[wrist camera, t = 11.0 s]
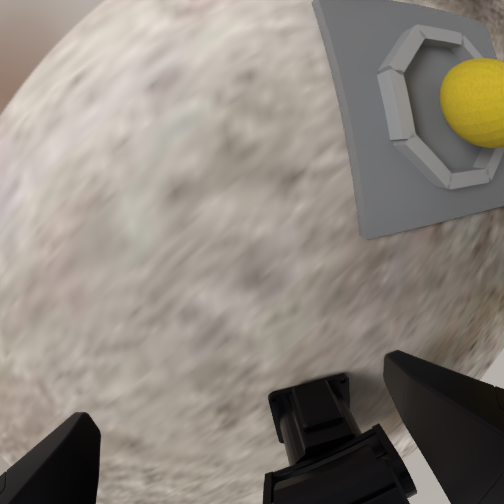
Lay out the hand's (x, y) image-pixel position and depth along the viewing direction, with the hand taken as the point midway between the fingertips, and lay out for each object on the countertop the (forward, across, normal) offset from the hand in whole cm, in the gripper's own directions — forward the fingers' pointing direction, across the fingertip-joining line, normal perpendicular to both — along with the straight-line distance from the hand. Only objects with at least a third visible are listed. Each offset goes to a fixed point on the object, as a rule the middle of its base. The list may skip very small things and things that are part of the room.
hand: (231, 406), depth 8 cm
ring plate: (+12, -17, -8) cm, 22 cm away
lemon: (+11, -17, -8) cm, 22 cm away
